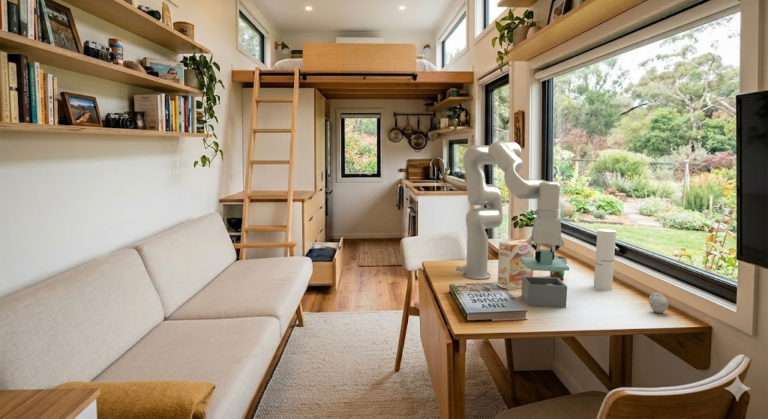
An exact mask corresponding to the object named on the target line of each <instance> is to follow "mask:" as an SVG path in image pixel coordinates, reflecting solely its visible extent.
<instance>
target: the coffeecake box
mask: <svg viewBox="0 0 768 419" xmlns="http://www.w3.org/2000/svg"><path fill="white" fill-rule="evenodd" d="M527 240H528V239H524V238H523V239H514V240H508V241H499V244H498V245H499V246H498V260H497V262H498V263H497V264H498V266H497V283H496V284H499V285H502V286H503V287H505V288H506V289H507V291H513V290H517V289H522V276H523V277H534V270H531V269H527V268H526V266H525V265H524V264H523V263H522V261H521V257H527V258H535V249H534V248H533V247H532V246H530V245H529V244H527ZM532 243H533V244H534V245H536V244H535V243H534V242H533V241H532ZM506 289H505V290H506Z"/></svg>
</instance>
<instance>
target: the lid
mask: <svg viewBox="0 0 768 419" xmlns="http://www.w3.org/2000/svg"><path fill="white" fill-rule="evenodd" d="M539 250H540V262H537V261H536V259H535V257H534V258H527V257H521V261H522V263H523V264H524V265H525V266H526V268H527V269H531V270H533V271H538V272H540V271H542V272H543V271H544V272H550V271H560V272H562V270H565V271H570V267H569V265H567V264H565V263H564V262H563V261H561V260H560V259H554V260H552V255H553V253H552V252H551V251H550V249H549V248H540V249H539Z"/></svg>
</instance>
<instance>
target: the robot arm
mask: <svg viewBox="0 0 768 419" xmlns="http://www.w3.org/2000/svg"><path fill="white" fill-rule="evenodd" d="M521 155H522V147H521V146H520V144H518V143H517V142H515V141H509V140H508V141H507V140H506V141H505V140H497V141H495V142H492V143H491V144H489V145H483V144H480V145H478V144H477V145H476V144H475V145H471V146H469V147H468V148H467V149H466V150H465V151H464V153H463V158H462V160H463V161H462V162H463V168H464V172H465V178H466V180H465V181H466V192H467V193H466V195H467V201H468V203H469V204H471V205H472V206H486V207H476V208H472V209H470V210H469V211H467V213H466V215H465V224H466V232H467V233H466V234H467V236H466V237H467V238H466V239H467V241H466V242H467V243H466V245H467V246H466V264H464V266H456V268H455V269H456V272H461V273H462V276H463V277H464V278H467V279H472V280H487V279H490V278H491V273H490V272H488V261H489V260H488V259H489V256H488V255H489V235H488V234H487V231H486V229H496V228H498V227H499V228H500V226H501V225H502V224H503V218H504V217H503V216H504V213H503V200H502V199H503V198H502V193H501V190H500V187H498V186H497V185H496V184H490V183H489V184H488V183H486V175H485V172H484V170H483V169H482V166H480V165H496V166H498V167H499V169H500V170H501V171H502V172H503V174H504V176H503V180H504V183H505V187H506V188H507V189H508V190H509V191H510V192H511V193H512V195H513V196H514V197H516V198H517V199H520V200H536V199H537V207H536V210H533V211H532V214H533V215H535V217H534V219H533V224H532V230H531V235H530V237H529V238H528V239H526V240H527V244H529V245H530V246H532V247H533V248H534V258H535V259H536V261H537V262H540V250H539V249H541V245H542V246H544V245H545V246H549V247H550V249H549V250H550V251H551V252H552V253H553V255H552V260H554V255H555V253H556V251H557V250H559V249H560V248H562V247H563V246H565V242H564V240H563V238H562V225H561V224H562V223H561V218H559V206H560V195H561V194H560V193H561V185H560V183H559V182H556V181H547V180H544V179H523V178H522V177H521V176H520V175H519V174H518V173H519V172H521V170H522V168H523V165H524V162H523V160H522V159H521V158H520V157H521ZM532 241H533V242H534V243H535V245H534V244H533V243H532Z"/></svg>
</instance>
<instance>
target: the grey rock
mask: <svg viewBox="0 0 768 419" xmlns="http://www.w3.org/2000/svg"><path fill="white" fill-rule="evenodd" d="M648 304H649V306H650V308H651V310H652V311H653V312H655V313H658V314H661V313H662V314H663V313H665V312H666V310H667V309H668V308H669V307H668V306H669V302H668V300H667V298H666V297H665V296H664V294H663V293H661V292H655V293H653V292H652V293H651V294H650V296H649V298H648Z"/></svg>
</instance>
